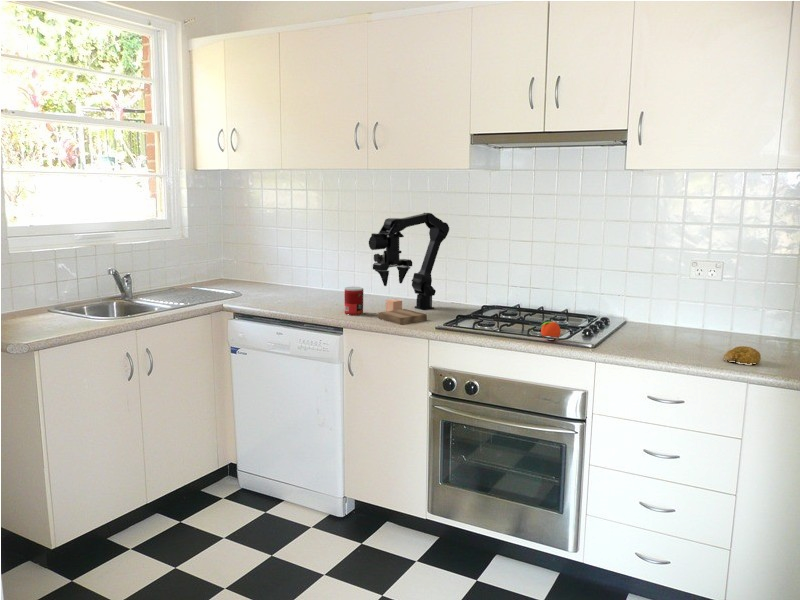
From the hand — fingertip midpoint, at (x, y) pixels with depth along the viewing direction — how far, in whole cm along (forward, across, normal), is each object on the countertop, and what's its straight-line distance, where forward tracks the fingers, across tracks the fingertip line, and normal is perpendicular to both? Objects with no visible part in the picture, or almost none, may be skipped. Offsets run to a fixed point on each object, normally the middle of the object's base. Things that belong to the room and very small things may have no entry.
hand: (393, 284), depth 286 cm
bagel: (+14, -26, +132) cm, 136 cm away
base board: (+12, +9, +14) cm, 20 cm away
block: (+12, -1, 0) cm, 12 cm away
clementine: (+13, -5, +74) cm, 76 cm away
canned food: (+12, +16, -8) cm, 21 cm away
